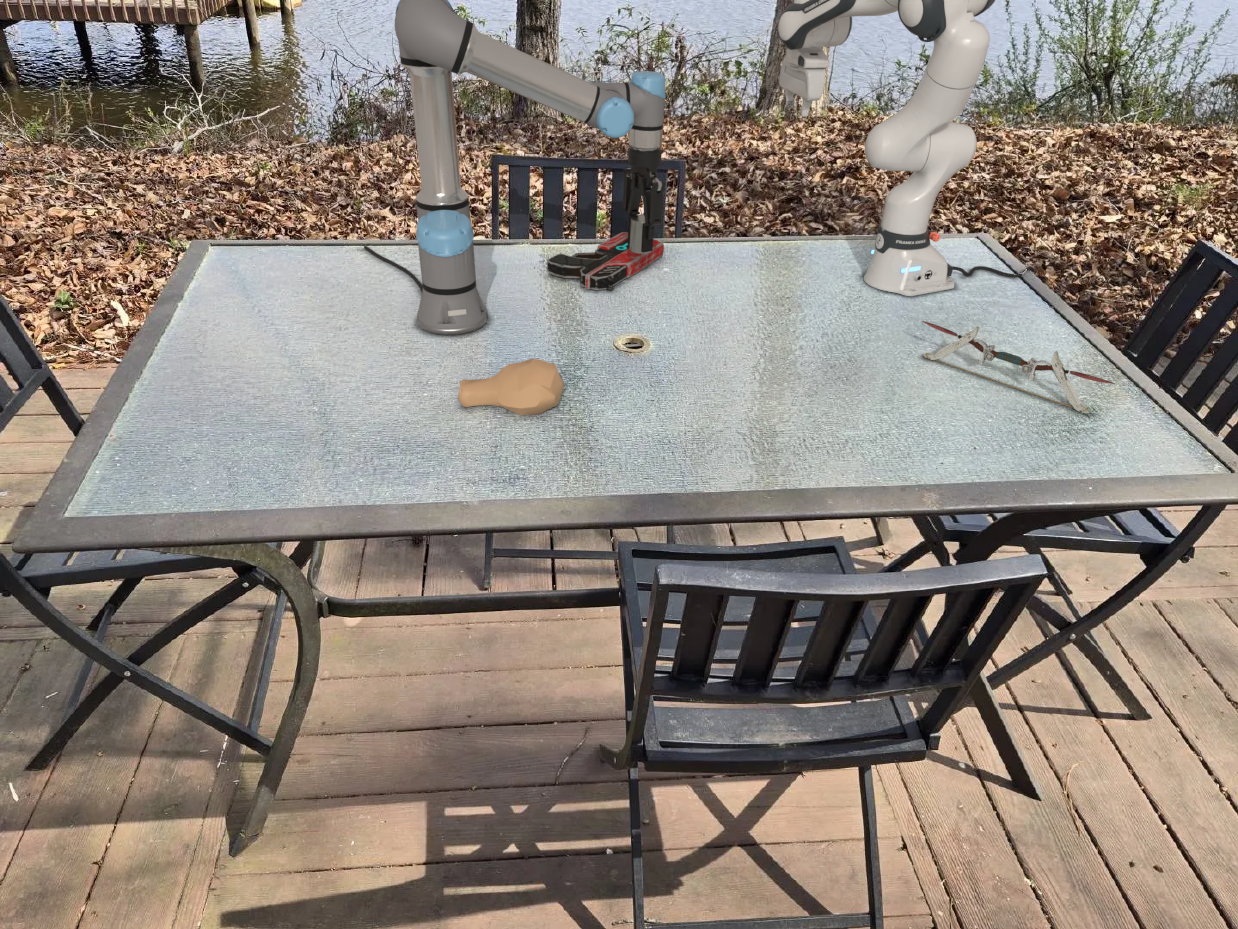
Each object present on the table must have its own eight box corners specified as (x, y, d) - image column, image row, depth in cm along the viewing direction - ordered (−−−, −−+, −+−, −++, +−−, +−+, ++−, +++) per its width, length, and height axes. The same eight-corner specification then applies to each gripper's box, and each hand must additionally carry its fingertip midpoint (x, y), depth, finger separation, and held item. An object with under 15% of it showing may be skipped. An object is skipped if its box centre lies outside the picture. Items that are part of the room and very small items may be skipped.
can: (629, 253, 208) (630, 221, 204) (629, 245, 212) (631, 214, 208) (650, 254, 208) (652, 222, 204) (651, 246, 212) (652, 215, 208)
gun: (540, 260, 217) (606, 279, 209) (606, 224, 239) (668, 240, 231) (540, 277, 220) (606, 296, 212) (605, 240, 242) (667, 256, 234)
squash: (565, 421, 162) (558, 383, 156) (459, 429, 164) (448, 392, 158) (568, 385, 170) (561, 347, 164) (467, 393, 172) (456, 356, 165)
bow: (1102, 416, 168) (1120, 369, 163) (1099, 419, 167) (1116, 372, 162) (916, 351, 190) (927, 308, 184) (912, 354, 189) (923, 311, 183)
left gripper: (682, 154, 192) (674, 256, 205) (636, 136, 205) (632, 233, 218) (654, 158, 189) (648, 262, 202) (609, 139, 201) (606, 238, 214)
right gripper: (777, 48, 233) (770, 103, 241) (808, 62, 217) (800, 120, 225) (799, 48, 235) (792, 103, 243) (832, 61, 218) (823, 120, 226)
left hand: (639, 247), depth 210 cm, fingers closed on can, 5 cm apart
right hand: (796, 111), depth 233 cm, fingers open, 8 cm apart
